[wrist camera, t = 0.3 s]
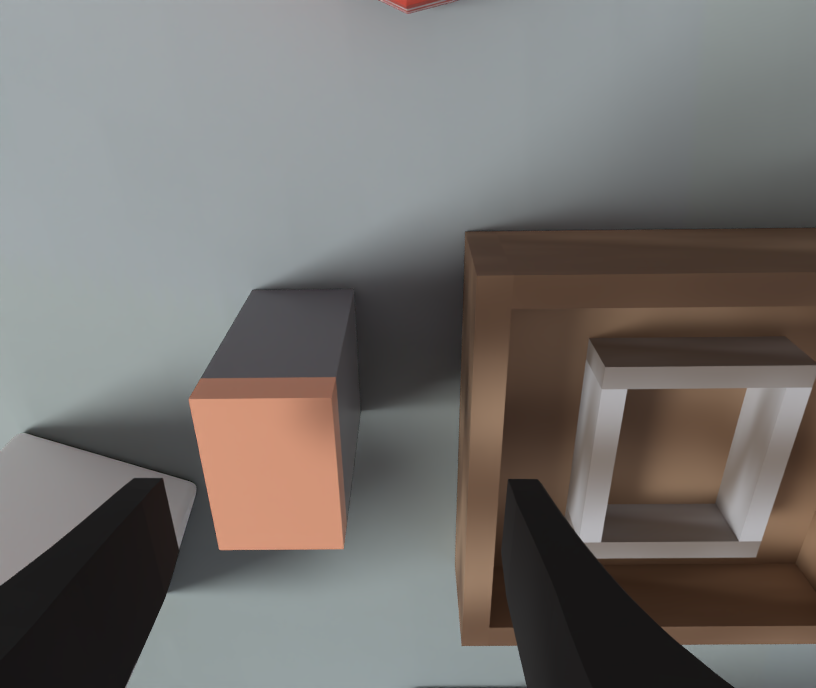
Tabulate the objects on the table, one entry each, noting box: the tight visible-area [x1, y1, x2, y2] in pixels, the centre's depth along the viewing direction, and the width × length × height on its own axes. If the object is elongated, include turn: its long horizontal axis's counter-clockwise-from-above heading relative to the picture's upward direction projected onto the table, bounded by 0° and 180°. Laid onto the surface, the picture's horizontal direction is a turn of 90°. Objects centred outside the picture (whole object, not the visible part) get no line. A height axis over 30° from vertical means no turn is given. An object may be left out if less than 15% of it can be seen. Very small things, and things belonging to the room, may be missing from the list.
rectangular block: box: [189, 289, 361, 550], centre depth 20 cm, size 5×4×7 cm
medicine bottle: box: [0, 433, 196, 688], centre depth 21 cm, size 7×7×12 cm
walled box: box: [455, 228, 816, 646], centre depth 22 cm, size 15×15×4 cm
